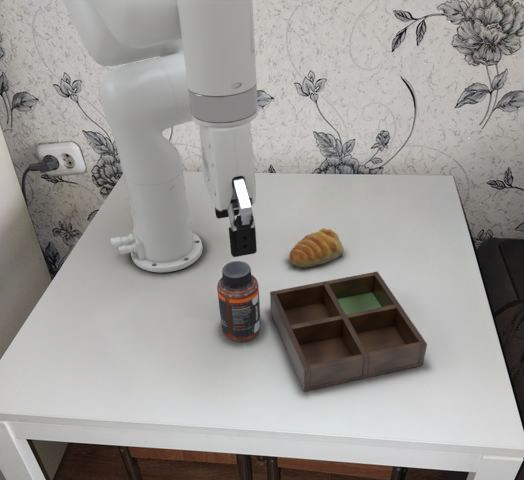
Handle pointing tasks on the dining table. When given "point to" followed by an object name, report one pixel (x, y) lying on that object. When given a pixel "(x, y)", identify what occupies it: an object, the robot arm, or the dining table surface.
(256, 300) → the supplement bottle
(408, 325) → the grid
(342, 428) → the dining table surface
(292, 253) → the pastry
